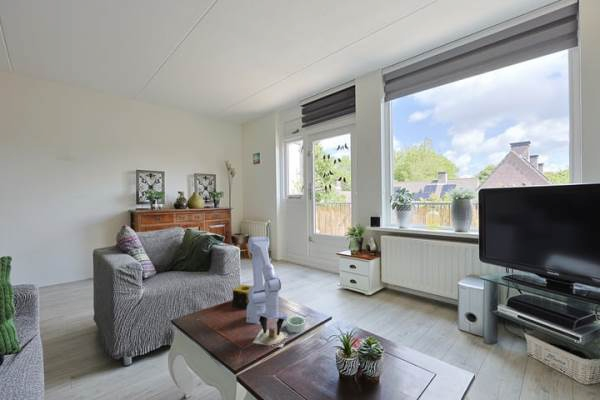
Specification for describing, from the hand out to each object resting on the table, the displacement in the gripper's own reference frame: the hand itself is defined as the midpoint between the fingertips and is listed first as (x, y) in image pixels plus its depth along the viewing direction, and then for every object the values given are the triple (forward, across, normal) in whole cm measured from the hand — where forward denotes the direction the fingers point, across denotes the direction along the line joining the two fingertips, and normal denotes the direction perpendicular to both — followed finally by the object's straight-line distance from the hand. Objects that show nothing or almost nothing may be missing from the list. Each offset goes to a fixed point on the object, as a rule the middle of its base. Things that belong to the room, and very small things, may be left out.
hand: (271, 333), depth 123 cm
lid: (+2, 0, 0) cm, 2 cm away
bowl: (+2, +9, +11) cm, 14 cm away
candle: (+3, -27, +29) cm, 40 cm away
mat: (+2, 0, 0) cm, 2 cm away
